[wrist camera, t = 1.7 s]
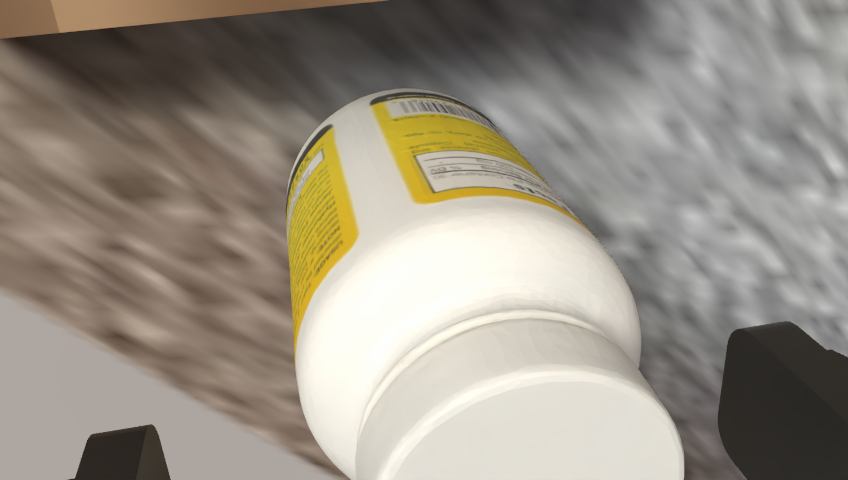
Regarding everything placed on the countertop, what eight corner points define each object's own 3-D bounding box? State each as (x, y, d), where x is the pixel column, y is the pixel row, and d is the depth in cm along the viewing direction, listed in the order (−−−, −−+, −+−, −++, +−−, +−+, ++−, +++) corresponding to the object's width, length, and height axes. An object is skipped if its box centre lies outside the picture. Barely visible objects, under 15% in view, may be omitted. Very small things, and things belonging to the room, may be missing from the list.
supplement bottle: (352, 333, 19) (418, 718, 10) (240, 151, 17) (203, 457, 8) (547, 238, 19) (780, 549, 10) (463, 39, 16) (678, 227, 8)
